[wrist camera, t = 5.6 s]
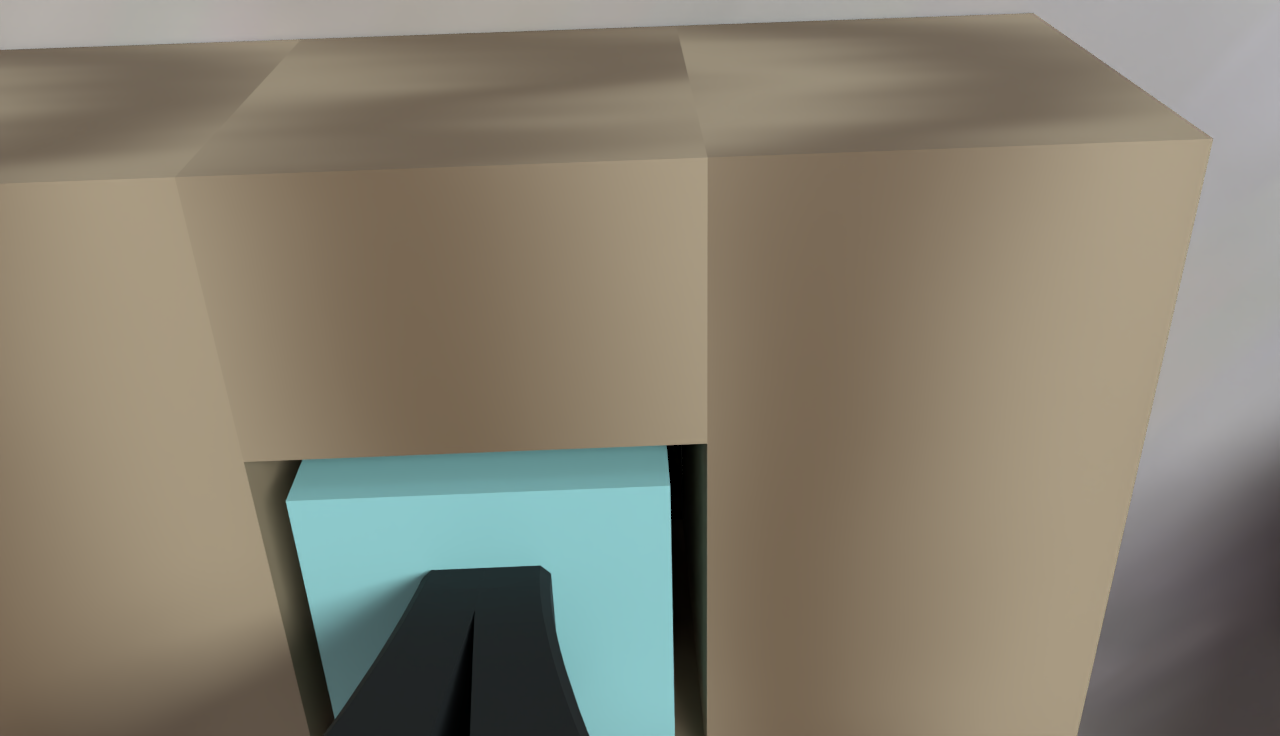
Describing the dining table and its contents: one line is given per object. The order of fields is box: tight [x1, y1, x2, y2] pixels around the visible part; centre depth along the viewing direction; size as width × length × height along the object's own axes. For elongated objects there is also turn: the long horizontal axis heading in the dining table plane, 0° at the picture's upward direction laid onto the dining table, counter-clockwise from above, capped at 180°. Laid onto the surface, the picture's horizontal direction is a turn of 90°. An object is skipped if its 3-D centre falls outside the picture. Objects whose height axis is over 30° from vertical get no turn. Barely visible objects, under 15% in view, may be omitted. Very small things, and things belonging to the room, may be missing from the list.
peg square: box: [286, 445, 675, 736], centre depth 15 cm, size 4×4×5 cm
